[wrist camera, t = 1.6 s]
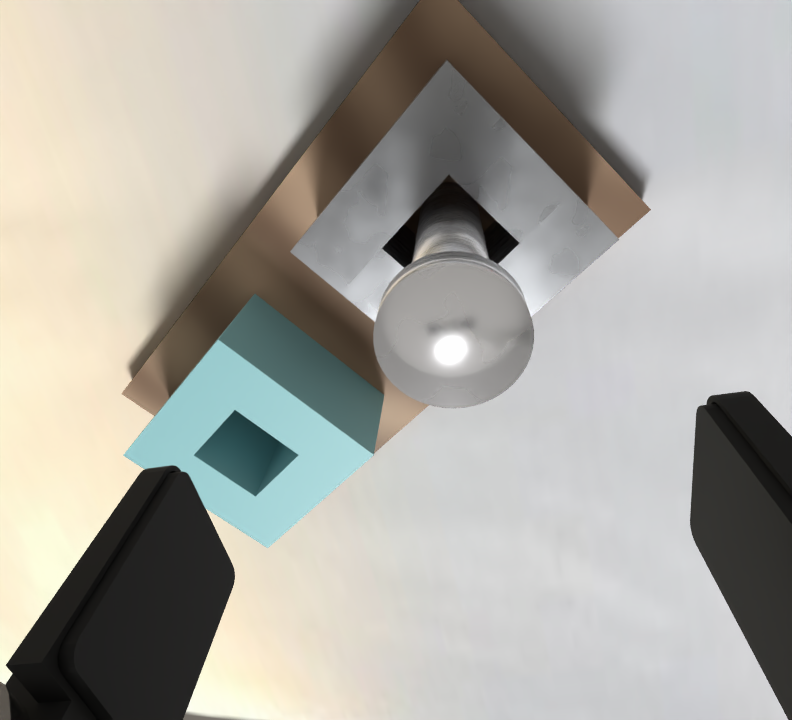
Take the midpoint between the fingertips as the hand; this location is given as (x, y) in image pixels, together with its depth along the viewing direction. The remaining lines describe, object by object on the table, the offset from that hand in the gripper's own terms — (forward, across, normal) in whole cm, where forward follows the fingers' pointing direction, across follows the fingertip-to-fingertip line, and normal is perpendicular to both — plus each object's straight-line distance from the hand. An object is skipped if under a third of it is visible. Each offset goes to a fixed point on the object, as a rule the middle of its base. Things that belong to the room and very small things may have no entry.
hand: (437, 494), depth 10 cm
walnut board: (+23, +6, +5) cm, 25 cm away
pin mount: (+22, -1, 0) cm, 22 cm away
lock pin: (+22, -1, 0) cm, 22 cm away
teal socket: (+22, +12, +10) cm, 27 cm away
